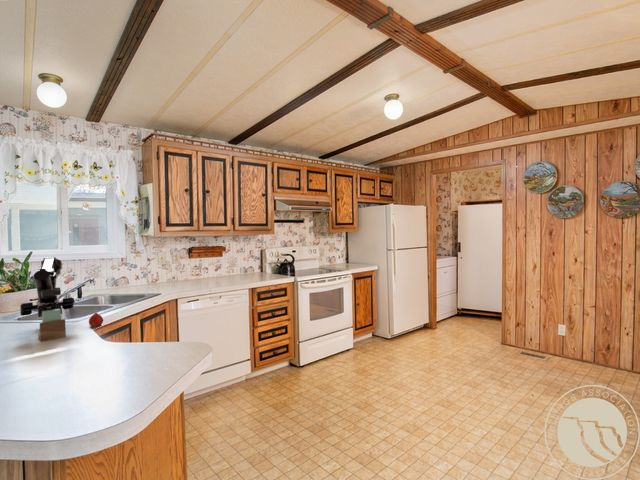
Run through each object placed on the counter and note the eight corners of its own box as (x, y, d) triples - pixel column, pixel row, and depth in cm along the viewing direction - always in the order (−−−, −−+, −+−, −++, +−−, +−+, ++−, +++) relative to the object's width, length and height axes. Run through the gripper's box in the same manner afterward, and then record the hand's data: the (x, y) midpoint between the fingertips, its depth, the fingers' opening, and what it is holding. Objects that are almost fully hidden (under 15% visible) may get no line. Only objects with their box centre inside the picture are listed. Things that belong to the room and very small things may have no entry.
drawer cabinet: (36, 337, 154) (35, 317, 154) (59, 333, 160) (59, 314, 160) (40, 344, 144) (39, 323, 144) (66, 339, 151) (65, 319, 150)
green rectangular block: (43, 338, 148) (41, 311, 148) (60, 335, 153) (59, 308, 152) (44, 340, 146) (42, 312, 146) (61, 336, 150) (60, 309, 150)
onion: (86, 329, 166) (85, 312, 166) (98, 326, 171) (98, 310, 171) (93, 330, 163) (92, 314, 163) (105, 327, 169) (105, 311, 168)
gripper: (19, 284, 147) (23, 314, 139) (72, 279, 160) (78, 306, 153) (18, 300, 152) (22, 330, 145) (69, 294, 166) (75, 321, 158)
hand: (50, 321), depth 150 cm, fingers closed, pressing on green rectangular block
